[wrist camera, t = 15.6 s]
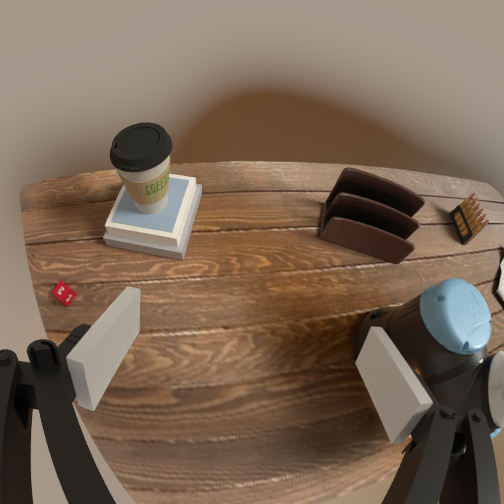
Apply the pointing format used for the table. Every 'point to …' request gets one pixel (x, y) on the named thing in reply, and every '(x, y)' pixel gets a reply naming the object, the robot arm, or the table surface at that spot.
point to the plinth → (156, 221)
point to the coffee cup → (144, 164)
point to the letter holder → (371, 215)
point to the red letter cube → (64, 293)
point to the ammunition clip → (468, 219)
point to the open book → (501, 282)
